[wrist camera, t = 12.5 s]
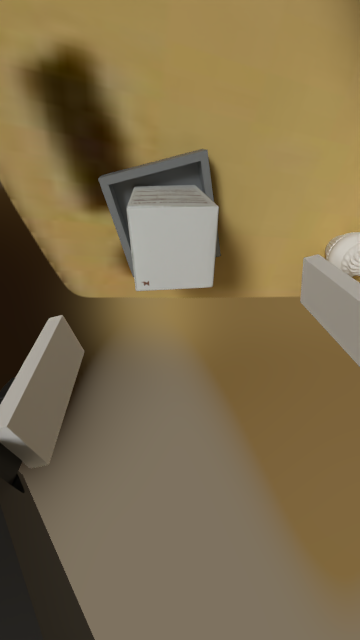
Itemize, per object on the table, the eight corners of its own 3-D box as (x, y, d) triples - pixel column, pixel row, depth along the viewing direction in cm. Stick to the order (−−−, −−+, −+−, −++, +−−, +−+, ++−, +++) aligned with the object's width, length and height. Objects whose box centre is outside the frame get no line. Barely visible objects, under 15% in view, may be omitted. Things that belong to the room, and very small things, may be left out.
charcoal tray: (202, 149, 29) (207, 149, 26) (215, 248, 35) (220, 256, 33) (102, 175, 29) (98, 178, 27) (134, 267, 36) (133, 277, 33)
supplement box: (194, 245, 34) (213, 290, 24) (138, 246, 34) (133, 293, 23) (197, 183, 30) (222, 205, 20) (132, 183, 29) (123, 206, 19)
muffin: (329, 221, 35) (364, 236, 29) (367, 228, 36) (408, 245, 30) (307, 263, 38) (335, 285, 32) (343, 269, 39) (376, 291, 34)
